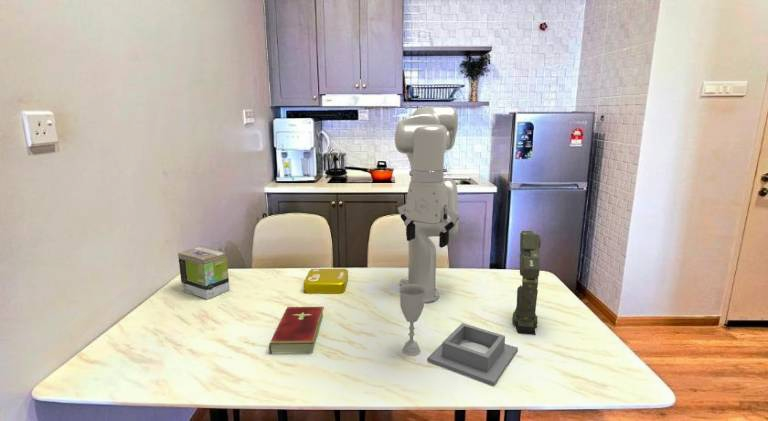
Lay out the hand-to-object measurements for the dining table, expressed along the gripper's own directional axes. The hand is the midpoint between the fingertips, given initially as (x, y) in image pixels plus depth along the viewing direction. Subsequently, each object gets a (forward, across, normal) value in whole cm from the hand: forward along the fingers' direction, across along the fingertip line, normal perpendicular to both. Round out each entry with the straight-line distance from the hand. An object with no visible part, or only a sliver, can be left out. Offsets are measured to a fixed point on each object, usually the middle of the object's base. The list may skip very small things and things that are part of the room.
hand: (426, 242), depth 107 cm
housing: (+31, +12, +5) cm, 33 cm away
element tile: (+31, -52, +16) cm, 63 cm away
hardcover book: (+31, -34, -14) cm, 48 cm away
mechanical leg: (+31, +17, +30) cm, 46 cm away
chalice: (+31, -3, -2) cm, 31 cm away
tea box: (+31, -85, -14) cm, 91 cm away
